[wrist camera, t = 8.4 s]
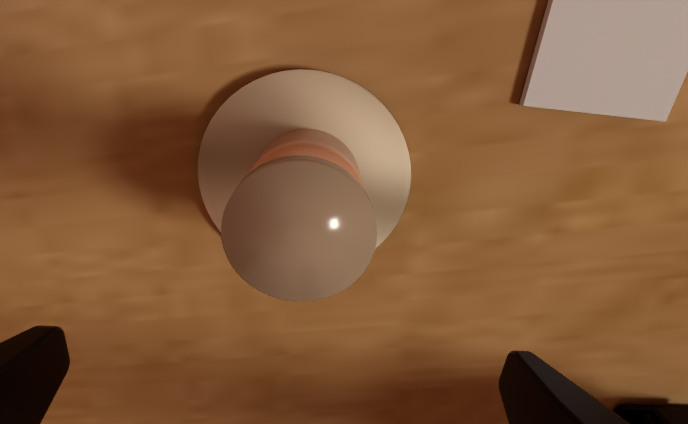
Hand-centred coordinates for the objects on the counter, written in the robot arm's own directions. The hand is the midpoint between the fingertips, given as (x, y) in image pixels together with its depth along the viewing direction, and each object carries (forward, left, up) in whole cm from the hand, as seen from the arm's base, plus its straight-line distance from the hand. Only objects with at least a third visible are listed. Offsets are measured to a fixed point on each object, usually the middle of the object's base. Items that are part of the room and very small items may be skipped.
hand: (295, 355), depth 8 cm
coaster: (0, 0, -12) cm, 12 cm away
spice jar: (0, 0, -11) cm, 11 cm away
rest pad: (+8, -13, -12) cm, 19 cm away
